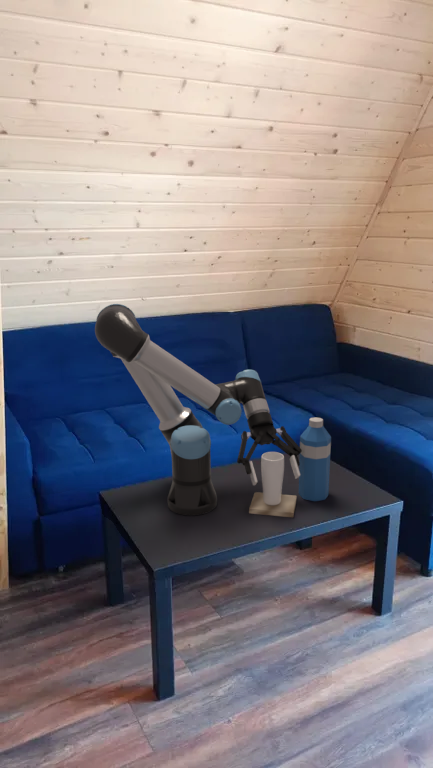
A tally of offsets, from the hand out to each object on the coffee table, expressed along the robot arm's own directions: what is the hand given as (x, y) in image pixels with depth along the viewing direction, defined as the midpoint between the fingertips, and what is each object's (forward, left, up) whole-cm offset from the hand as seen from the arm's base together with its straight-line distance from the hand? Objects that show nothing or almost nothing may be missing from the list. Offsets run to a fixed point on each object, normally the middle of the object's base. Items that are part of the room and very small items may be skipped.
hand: (276, 480), depth 172 cm
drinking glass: (-2, +2, -8) cm, 9 cm away
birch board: (-1, +2, -10) cm, 10 cm away
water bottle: (+10, +12, -10) cm, 19 cm away
